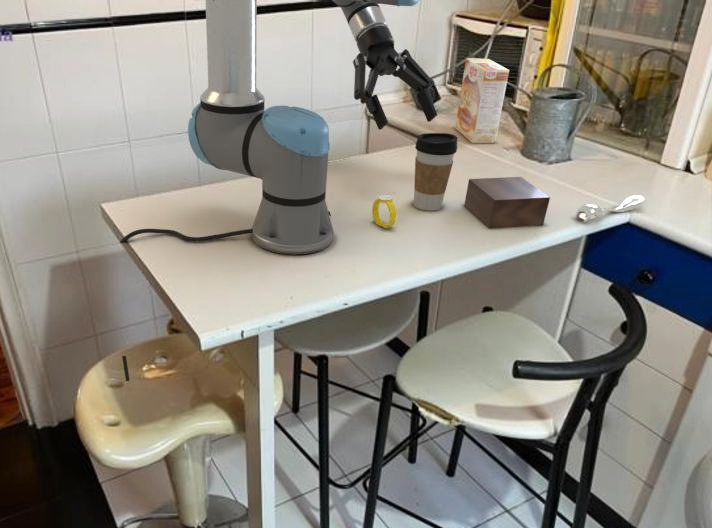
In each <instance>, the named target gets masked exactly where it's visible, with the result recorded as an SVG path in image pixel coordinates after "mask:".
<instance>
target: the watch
mask: <svg viewBox="0 0 712 528" xmlns="http://www.w3.org/2000/svg"><path fill="white" fill-rule="evenodd" d="M381 203H382V204H386V206H387V209H388V212H389V220H388V223H385V222H383V221H382V219H381V217H380V213H379V206H380V204H381ZM371 214H372V218H373V220H374V223H375V224H376V225H378V226H380V227H382V228H384V229H389V228H392V227H393V226H394V225H395V222H396V220H397V209H396V206H395V204H394V203H393V197H392V196H390V195H386V194H385V195H384V194H382V195H378V196H377V199H375V201H373V204H372V208H371Z"/></svg>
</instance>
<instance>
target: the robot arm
mask: <svg viewBox="0 0 712 528" xmlns="http://www.w3.org/2000/svg"><path fill="white" fill-rule="evenodd" d="M331 1H332V2H333V3H334V4H335V5H337V6H338V7H339V8H340V9H341V11H342V13H343V15H344V17H345V19H346V22H347V25H348V27H349V29H350V32H351V34H352V37H353V40H354V41H355V42H356V46H357V49H358V51H359V52H358V54H357V55H356V57H354V59H353V60H352V64H353V68H354V87H353V98H354V99H355V100H356V101H358V100H359V102H360V103H361V104H362V105H365V106H366V108H367V111H368V113H369V114H370V115H372V117H373V119H374V122H375V124H376V126H377V129H378V130H383V128H385V126H386V125H388V123H389V121H388V118H387V116H386V114H385V111H384V109H383V106H382V104H381V101H380V99H379V97H378V95H377V94H374V91H375V87H376V85H377V82H378V78H379V77H383V76H391V75H392V76H393V77H395V78H399V79H400V80H401V81H402V82H404V83H405V84H407V85H408V86H409V87H410V88H412V89H413V90H414V91H415V92H416V93H418V94H416V97H417V100H418V103H419V104H420V107H421V109H422V112H423V114H424V117H425V119H426V120H427V122H428V123H429V122H432V121H433V119H435V118H436V117H437V116H438V113H437V110H436V108H435V106H434V99H433V97H432V95H431V92H430V89H431V88H432V86H434V84H435V82H434V80H433V79H432V78H431V77H430V76H429V75H428V73H426V72H425V71H424V69H423V68H422V67H421V66H420V65H419V64H418V62H417V61H416V60H415V59H413V57H412V55H411V54H410V51H409V50H408V49H406V48H405V49H404V50H402V52H397V50H396V49H395V39H394V37H393V35H392V32H391V29H390V28H389V27H388V23H387V21H386V18H385V16H384V14H383V11H382V9H381V7H380V5H385V6H386V5H387V6H393V7H394V6H395V7H398V8H399V7H413V6H416V5H417V4H418V3H419V1H420V0H331ZM257 3H258V1H257V0H205V23H206V24H205V26H206V27H205V28H206V29H205V30H206V52H207V53H206V56H207V58H206V60H207V88H206V89H205V90H204V91H203V92H202V94H200V98H199V100H200V102H199V103H198V104H196V105H195V106H194V108H193V109H192V112H191V117H190V118H189V119H188V125H187V137H188V142H189V145H190V148H191V150H192V152H193V153H194V155H195V156H196V157H197V159H199V161H201V162H202V163H204V164H206V165H209V166H212V167H213V168H215V169H217V170H222V171H228V172H232V173H236V174H241V175H244V176H248V177H253V178H257V179H259V180H261V181H262V183H261V184H262V185H261V187H262V193H261V194H262V195H261V196H262V197H261V200H260V203H259V207H258V209H257V212H256V215H255V218H254V220H253V224H252V228H248V229H241V230H234V231H229V232H223V233H219V234H218V233H216V234H211V235H206V236H188V235H186V234H183V233H181V232H179V231H178V230H177V231H176V230H173V229H164V228H163V229H162V228H140V229H137V230H133V231H131V232H129V233H127V234H126V235H125V236H124V237H123V238H122V239H121V240H120V241H119V243H120V244H125V243H126V242H127V241H128V240H130V239H131V238H133V237H135V236H137V235H142V234H164V235H165V234H167V235H173V236H176V237H178V238H180V239H181V240H184V241H187V242H206V241H207V242H208V241H211V240H218V239H219V240H220V239H225V238H229V237H236V236H240V235H246V234H247V235H248V234H252V235H251V237H252V241H253V242H254V243H255V245H257V246H259V247H261V248H262V249H264V250H266V251H269V252H273V253H276V254H282V255H307V254H312V253H317V252H320V251H322V250H325V249H326V248H328V247H329V246H331V244H332V242H333V240H334V239H333V238H334V227H333V223H332V220H331V217H332V214H331V212H330V211H329V210H328V206H327V201H326V195H327V194H326V193H327V181H328V165H329V152H330V147H331V145H330V130H329V129H330V128H329V124H328V123H327V121H326V119H325V118H324V117H323V116H321V115H320V114H318V113H316V112H314V111H312V110H310V109H307V108H304V107H299V106H289V105H273V106H269V107H268V108H266V109H265V101H266V100H265V95H264V94H263V93H261V92H260V90H259V89H258V87H257V25H258V24H257V22H258V21H257V19H258V18H257V16H258V15H257V13H258V12H257V11H258V10H257V7H258V6H257ZM366 66H367V67H368V68H369V69H370V70H369V73H368V76H367V77H368V79H367V81H366ZM121 359H122V365H123V371H124V372H123V373H124V377H125V378H124V379H125V382H126V381H129V380H130V373H129V367H128V361H127V355H122V356H121Z"/></svg>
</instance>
